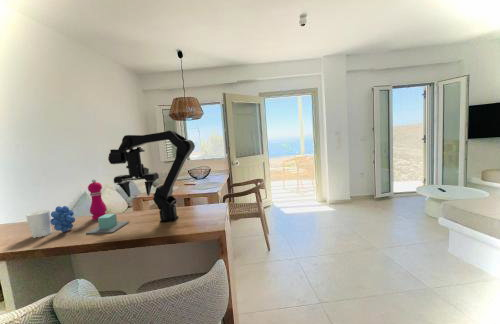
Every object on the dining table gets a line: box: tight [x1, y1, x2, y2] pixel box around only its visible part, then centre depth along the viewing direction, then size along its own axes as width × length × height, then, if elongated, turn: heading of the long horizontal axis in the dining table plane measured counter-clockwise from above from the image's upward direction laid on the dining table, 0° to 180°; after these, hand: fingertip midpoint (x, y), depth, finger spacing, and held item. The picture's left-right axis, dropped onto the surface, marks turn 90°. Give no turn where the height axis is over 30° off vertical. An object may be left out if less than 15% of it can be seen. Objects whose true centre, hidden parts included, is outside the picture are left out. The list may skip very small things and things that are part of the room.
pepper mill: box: [87, 179, 107, 221], centre depth 125 cm, size 7×7×20 cm
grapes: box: [50, 205, 76, 233], centre depth 109 cm, size 12×7×12 cm, turn 175°
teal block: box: [97, 213, 118, 229], centre depth 110 cm, size 5×5×5 cm
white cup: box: [26, 209, 53, 239], centre depth 108 cm, size 8×8×10 cm
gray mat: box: [85, 220, 130, 235], centre depth 110 cm, size 12×12×1 cm
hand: (139, 196), depth 115 cm, fingers open, 9 cm apart
